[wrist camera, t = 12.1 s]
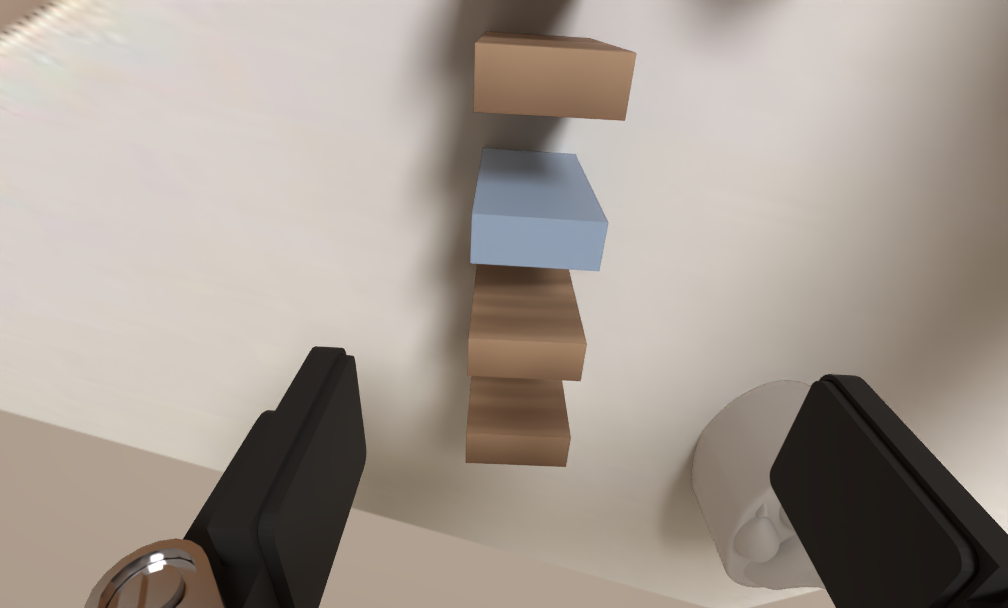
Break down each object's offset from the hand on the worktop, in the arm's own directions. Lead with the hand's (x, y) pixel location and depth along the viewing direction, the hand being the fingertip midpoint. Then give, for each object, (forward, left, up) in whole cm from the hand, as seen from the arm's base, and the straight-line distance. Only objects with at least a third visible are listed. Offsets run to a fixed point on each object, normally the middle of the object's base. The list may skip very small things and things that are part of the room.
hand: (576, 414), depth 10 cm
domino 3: (0, +11, -19) cm, 22 cm away
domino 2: (0, +6, -19) cm, 20 cm away
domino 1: (0, -5, -19) cm, 20 cm away
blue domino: (0, 0, -19) cm, 19 cm away
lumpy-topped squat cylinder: (-19, +20, -20) cm, 34 cm away
